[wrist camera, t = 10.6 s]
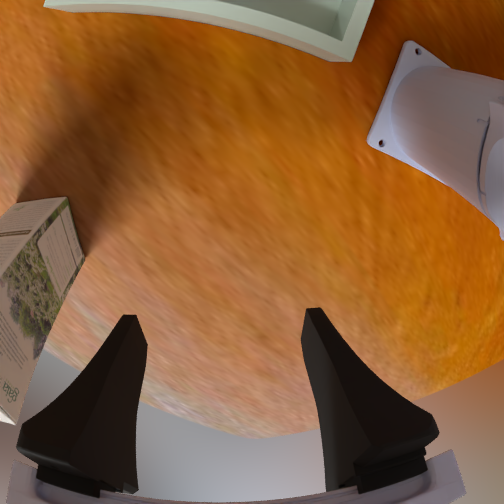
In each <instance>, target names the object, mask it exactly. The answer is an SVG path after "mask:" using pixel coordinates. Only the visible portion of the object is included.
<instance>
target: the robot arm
mask: <svg viewBox="0 0 504 504" xmlns="http://www.w3.org/2000/svg"><path fill="white" fill-rule="evenodd" d="M415 49H417V50H418V55H417V54H416V52H415ZM380 140H383V144H382V145H380V146H379V141H380ZM367 143H368V144H369V145H370V146H371V147H373V148H375V149H378V150H380V151H382V152H384V153H386V154H388V155H390V156H393V157H395V158H397V159H399V160H401V161H403V162H405V163H407V164H409V165H411V166H413V167H415V168H417V169H419V170H420V171H422V172H424V173H426V174H428V175H430V176H432V177H433V178H435V179H437V180H439V181H441V182H442V183H444V184H446V185H448V186H449V187H451V188H452V189H454V190H455V191H456V192H457V193H459V194H460V195H461V196H463V197H464V198H465V199H466V200H468V201H469V202H470V203H471V204H472V205H474V206H475V207H476V208H477V209H478V210H480V211H481V212H482V213H483V214H484V215H485V216H487V217H488V218H489V219H490V220H491V221H492V222H493V223H494V224H495V225H497V226H498V228H499V230H500V237H501V238H502V239H503V240H504V80H500V79H496V78H492V77H488V76H484V75H480V74H476V73H471V72H466V71H461V70H456V69H451V68H450V67H449V66H448V65H446V64H445V63H444V62H442V61H441V60H440V59H438V58H437V57H436V56H434V55H433V54H431V53H430V52H429V51H427V50H426V49H424V48H423V47H421V46H420V45H418V44H417V43H415V42H414V41H406V42H405V43H404V44H403V47H402V50H401V53H400V55H399V58H398V61H397V63H396V66H395V69H394V71H393V74H392V77H391V79H390V82H389V85H388V87H387V90H386V92H385V95H384V97H383V100H382V102H381V105H380V107H379V110H378V112H377V115H376V117H375V119H374V122H373V124H372V127H371V129H370V131H369V134H368V136H367ZM301 344H302V351H303V357H304V362H305V366H306V369H307V373H308V376H309V380H310V384H311V387H312V391H313V394H314V398H315V402H316V406H317V410H318V417H319V423H320V430H321V438H322V446H323V456H324V466H325V483H326V492H324V493H320V494H314V495H307V496H301V497H294V498H286V499H277V500H267V501H254V502H229V503H228V502H226V503H212V502H211V503H210V502H209V503H208V502H185V501H171V500H159V499H152V498H144V497H137V496H130V495H125V494H119V493H129V494H134V493H135V492H137V491H138V490H139V489H138V480H137V469H136V420H137V410H138V404H139V398H140V393H141V388H142V383H143V378H144V373H145V367H146V359H147V346H148V344H147V342H146V339H145V337H144V334H143V332H142V329H141V326H140V324H139V321H138V318H137V315H123V316H122V317H121V318H120V320H119V321H118V323H117V324H116V326H115V327H114V329H113V330H112V332H111V333H110V335H109V336H108V337H107V339H106V340H105V342H104V343H103V345H102V346H101V347H100V349H99V350H98V352H97V353H96V354H95V356H94V357H93V358H92V360H91V361H90V362H89V363H88V365H87V366H86V367H85V369H84V370H83V371H82V372H81V373H80V375H79V376H78V377H77V378H76V379H75V380H74V381H73V382H72V383H71V385H70V386H69V387H68V388H67V389H66V390H65V391H64V392H63V393H62V394H60V395H59V396H58V397H57V398H56V399H55V400H54V401H53V402H51V403H50V404H49V405H48V406H47V407H46V408H44V409H43V410H42V411H40V412H39V413H38V414H36V415H35V416H33V417H32V418H30V419H29V420H27V421H26V422H24V423H23V424H22V427H21V430H20V434H19V438H18V442H17V446H16V448H17V450H18V451H19V452H20V453H22V454H23V455H24V456H26V457H27V458H29V459H31V460H32V461H34V462H36V463H37V464H38V469H36V468H34V467H32V466H29V465H26V464H24V463H22V462H19V461H17V460H14V461H13V465H12V470H11V475H10V481H9V487H8V493H7V500H6V503H7V504H449V503H451V502H453V501H455V500H457V499H458V498H460V497H462V496H464V495H465V494H466V490H465V486H464V483H463V480H462V477H461V473H460V470H459V467H458V464H457V461H456V459H455V455H454V452H453V450H448V451H446V452H444V453H442V454H439V455H437V456H435V457H432V458H430V459H428V460H426V461H425V458H424V456H425V455H426V450H425V446H427V445H428V444H429V443H431V442H432V441H433V440H435V438H437V437H438V435H439V430H438V427H437V424H436V422H435V420H434V418H433V416H432V414H430V413H428V412H427V411H425V410H423V409H421V408H420V407H418V406H416V405H414V404H413V403H411V402H410V401H408V400H407V399H405V398H404V397H402V396H401V395H400V394H399V393H397V392H396V391H395V390H393V389H392V388H391V387H390V386H388V385H387V384H386V383H385V382H383V381H382V380H381V379H380V378H379V377H378V376H377V375H376V374H375V373H374V372H373V371H372V370H370V369H369V368H368V366H367V365H366V364H365V363H364V362H363V361H362V360H361V359H360V358H359V357H358V356H357V355H356V353H355V352H354V351H353V350H352V349H351V348H350V346H349V345H348V344H347V343H346V341H345V340H344V339H343V338H342V336H341V335H340V334H339V332H338V331H337V330H336V328H335V327H334V326H333V324H332V323H331V321H330V320H329V319H328V317H327V316H326V314H325V313H324V311H323V310H322V309H321V308H320V307H319V308H307V309H306V313H305V318H304V324H303V330H302V335H301ZM115 492H119V493H115Z"/></svg>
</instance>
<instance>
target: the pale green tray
mask: <svg viewBox="0 0 504 504" xmlns="http://www.w3.org/2000/svg"><path fill="white" fill-rule="evenodd" d="M373 3H374V0H45V3H44V6H43V7H47V8H53V9H58V10H63V11H68V12H72V13H73V12H115V13H133V14H145V15H154V16H163V17H170V18H177V19H184V20H190V21H195V22H201V23H206V24H211V25H215V26H220V27H224V28H229V29H233V30H237V31H241V32H244V33H248V34H252V35H255V36H259V37H262V38H265V39H269V40H272V41H275V42H278V43H281V44H284V45H287V46H290V47H293V48H296V49H298V50H301V51H304V52H306V53H309V54H312V55H314V56H317V57H319V58H322V59H324V60H327V61H329V62H352V60H353V57H354V54H355V52H356V49H357V46H358V44H359V41H360V38H361V36H362V33H363V30H364V28H365V25H366V22H367V19H368V17H369V14H370V11H371V8H372V6H373Z"/></svg>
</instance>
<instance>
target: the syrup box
mask: <svg viewBox="0 0 504 504" xmlns="http://www.w3.org/2000/svg"><path fill="white" fill-rule="evenodd" d="M84 261H85V257H84V254H83V250H82V248H81V245H80V241H79V238H78V235H77V231H76V228H75V224H74V221H73V217H72V213H71V210H70V205H69V202H68V198H67V197H57V198H48V199H41V200H34V201H28V202H21V203H16V204H14V205H12V206H11V207H10V208H9V209H8V210H7V211H6V212H5V213H4V214H3V215H2V216H1V218H0V421H3V422H7V423H11V424H14V425H16V422H17V421H18V418H19V414H20V411H21V408H22V404H23V401H24V399H25V395H26V392H27V389H28V386H29V383H30V381H31V378H32V375H33V372H34V369H35V366H36V364H37V362H38V359H39V357H40V354H41V351H42V349H43V347H44V344H45V342H46V339H47V337H48V334H49V332H50V330H51V328H52V326H53V323H54V321H55V319H56V317H57V315H58V313H59V310H60V308H61V306H62V304H63V302H64V300H65V298H66V296H67V294H68V292H69V290H70V288H71V286H72V284H73V282H74V280H75V278H76V276H77V274H78V272H79V271H80V269H81V267H82V265H83V263H84Z"/></svg>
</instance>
